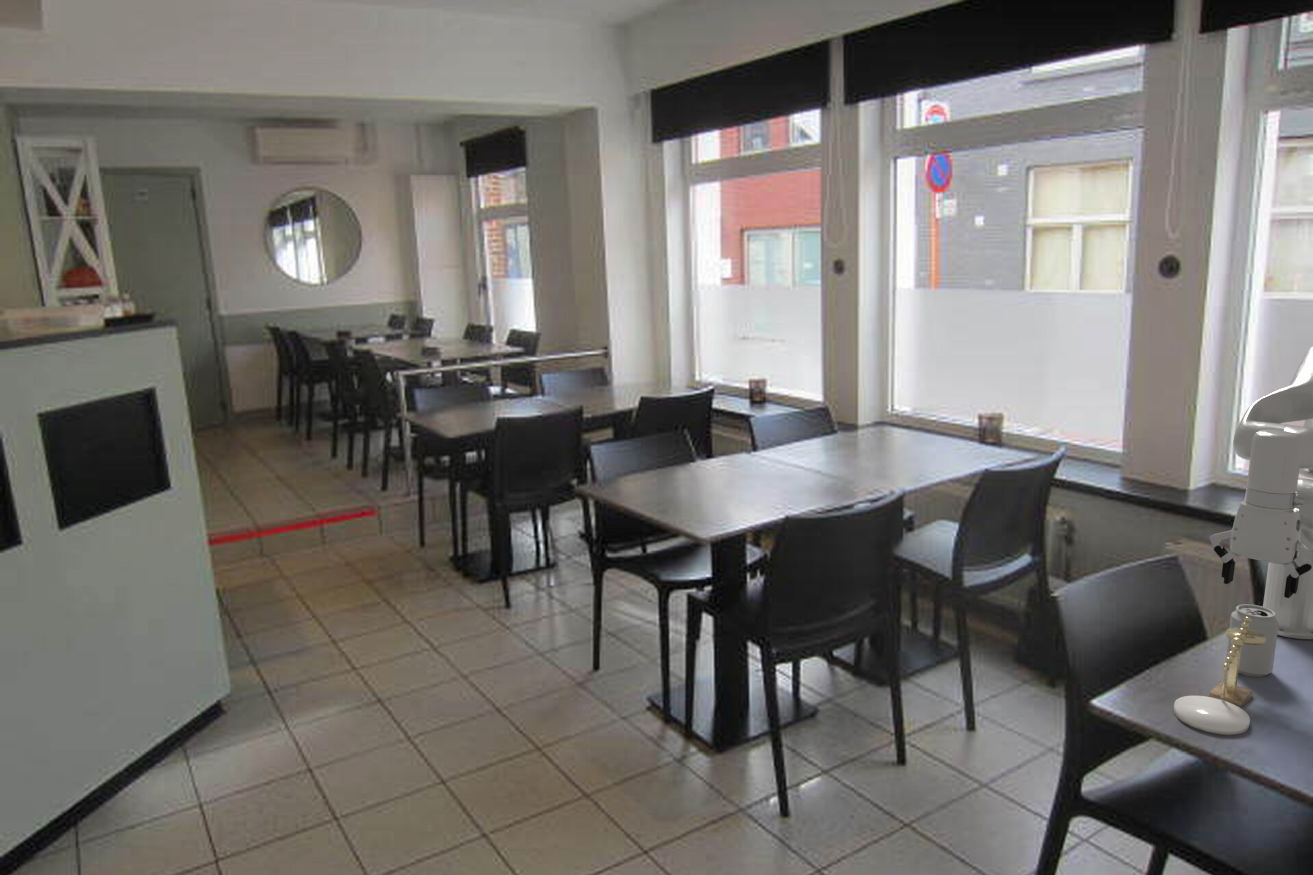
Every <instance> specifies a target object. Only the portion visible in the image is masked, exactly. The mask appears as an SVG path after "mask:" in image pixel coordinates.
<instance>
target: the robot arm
mask: <svg viewBox="0 0 1313 875" xmlns="http://www.w3.org/2000/svg"><path fill="white" fill-rule="evenodd" d="M1299 421H1300V422H1302V421H1304V423H1303V426H1302V425H1301V426H1300V425H1292V424H1286V423H1292V422H1299ZM1232 445H1233V450H1234V452H1235V454H1236V455H1237V457H1239V458H1241V459H1243V460H1245V461H1249V465H1248V471H1247V472H1248V473H1247V480H1246V482H1247V483H1246V488H1245V494H1244V500H1242V501H1241V502H1240V503H1239V505H1238V508H1237V511H1236V513H1235V517H1234V522H1233V525H1232V528H1231V530H1226V531H1222V532H1218V533H1213V534H1212V535H1210V536H1209V540H1210V543H1211V545H1212V547H1213V551H1214V552H1215V553H1216V555H1217V556H1218V557H1219V558H1220V561H1221V562H1222V567H1221V568H1222V569H1221V578H1223V584H1225V585H1229V584H1230V583H1232V582H1233V581H1234V575H1235V568H1236V567H1235V566H1236V561H1235V560H1234V558H1235V557H1237V556H1238V557H1242V558H1246V559H1251V560H1256V561H1261V562H1266V563H1268V565H1267V574H1266V580H1265V588H1264V594H1263V595H1264V597H1263V602H1262V603H1263V604H1262V607H1266V608H1268V609H1271V610H1272V611H1274V612H1275V614H1276V616H1275V618H1276V619H1277V620H1278V621H1279V626H1278V633H1277V636H1281V637H1285V638H1291V639H1297V640H1298V639H1299V640H1313V345H1312V346H1311V347H1310V348H1309V349H1308V350H1307V351H1306V352H1305V354H1304V355H1303V357H1302V359H1301V361H1300V363H1299V365H1298V366H1297V369H1296V371H1295V372H1294V375H1293V377H1292V379H1291V381H1290V382H1289V385H1288V386H1286V387H1283V388H1280V389H1278V390H1275V391H1273V392H1271V393H1269V394H1267V395H1265V396H1263V397H1261V398H1259V399H1257V400H1255V401H1254V402H1253V403H1252V404H1251V405H1250V406H1248V408H1247V409H1246V411H1245V412H1244V414H1243V417H1242V418H1241V420H1240V421H1239V424H1238V426H1237V428H1236V430H1235V432H1234V436H1233V443H1232ZM1299 475H1300V476H1303V477H1305V478H1303V477H1300V476H1299ZM1227 539H1229V547H1228V548H1229V551H1228V550H1227V549H1226V548H1225V547H1224V546H1223V544H1222V541H1223V540H1227Z"/></svg>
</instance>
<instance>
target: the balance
mask: <svg viewBox="0 0 1313 875" xmlns="http://www.w3.org/2000/svg"><path fill="white" fill-rule="evenodd" d="M1244 621H1245V622H1244V623H1242V627H1243V628H1230V627H1229V628H1227V629H1226V631H1225V636H1226V637H1227V639H1228V638H1230V639H1231V644H1232V646H1231V651H1230V652H1229V653H1228V656H1229V657H1227V658H1226V657H1225V663H1223V664H1222V669H1223V673H1222V674H1223V676H1222V681H1219V683H1218V684H1216V686H1214V687H1213V688H1212V689H1211V691H1210V692H1209V696H1208V697H1212V698H1216V699H1220V700H1223V701H1226V702H1229V703H1231V704H1233V705H1236V706H1237V707H1239V708H1242V707H1244V705H1245V704H1247V702H1248V701H1249V700H1250V698H1252V696H1253V690H1252V689H1249V688H1245V687H1241V686H1238V680H1239V679H1238V678H1239V673H1238V672H1239V664H1240V656H1241V648H1242V646H1243V644H1249V645H1261V644H1264V643H1265V642H1266V637H1265V636H1264V635H1263V634H1261V633H1259V632H1257V631H1254V630H1251V629H1248V628H1249V623H1250V622H1251V618H1250V617H1245V618H1244ZM1227 663H1228V664H1227ZM1229 664H1230V665H1229Z"/></svg>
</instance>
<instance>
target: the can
mask: <svg viewBox="0 0 1313 875" xmlns="http://www.w3.org/2000/svg"><path fill="white" fill-rule="evenodd" d="M1275 616H1276V614H1275V612H1274V611H1272V610H1271V609H1268V608H1266V607H1263V605H1257V604H1248V603H1247V604H1246V603H1245V604H1244V603H1243V604H1239V605H1237V606H1236V607H1235V610H1234V611H1232V612H1231V614H1230V619H1229V620H1230V622H1229V628H1243V627H1242V623H1244V622H1245V621H1244V618H1245V617H1250V618H1251V622H1250V623H1249V628H1248V629H1251V630H1254V631H1257V632H1259V633H1261V634H1263V635H1264V636H1265V637H1266V642H1265V643H1264V644H1261V645H1249V644H1243V646H1242V648H1241V656H1240V664H1239V672H1238V674H1241V675H1243V676H1248V677H1255V678H1257V677H1259V678H1260V677H1265V676H1267V675H1268V674H1271V673H1272V672H1273V670H1274V663H1275V662H1274V661H1275V655H1276V648H1277V639H1278V635H1277V633H1278V626H1279V621H1278V620H1277V619H1276V618H1275ZM1231 646H1232V644H1231V639H1230V638H1228V637H1227V646H1226V652H1225V653H1226V655H1225V659H1226V658H1227V657H1229V656H1228V653H1229V652H1230V651H1231ZM1227 664H1228V663H1227ZM1229 665H1230V664H1229Z"/></svg>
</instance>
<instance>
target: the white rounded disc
mask: <svg viewBox="0 0 1313 875" xmlns="http://www.w3.org/2000/svg"><path fill="white" fill-rule="evenodd" d="M1173 713H1174V715H1175V717H1176V718H1178V719H1179V720H1180V721H1181V722H1182V723H1184V724H1186V725H1188V726H1189V727H1191V728H1195V729H1197V730H1200V731H1203V732H1207V733H1211V734H1217V735H1223V736H1224V735H1225V736H1231V735H1233V736H1234V735H1240V734H1243V733H1245V732H1247V731H1248V730H1249V727H1250V722H1251V718H1250V716H1249V714H1248V713H1247V712H1246V711H1245V710H1244V709H1242V707H1238V706H1236V705H1233V704H1231V703H1229V702H1226V701H1223V700H1220V699H1216V698H1212V697H1209V696H1205V695H1204V696H1203V695H1185V696H1181V697H1179V698H1176V700H1174V704H1173Z"/></svg>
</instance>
